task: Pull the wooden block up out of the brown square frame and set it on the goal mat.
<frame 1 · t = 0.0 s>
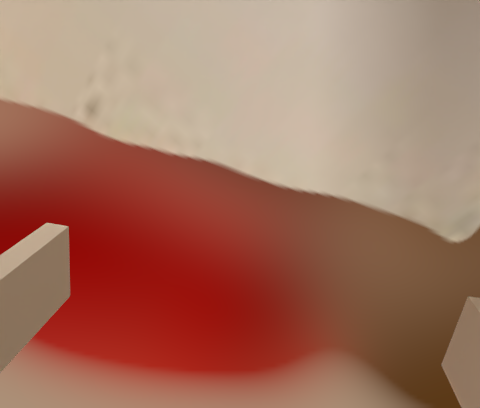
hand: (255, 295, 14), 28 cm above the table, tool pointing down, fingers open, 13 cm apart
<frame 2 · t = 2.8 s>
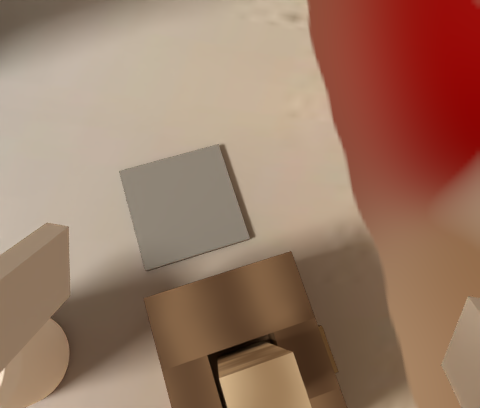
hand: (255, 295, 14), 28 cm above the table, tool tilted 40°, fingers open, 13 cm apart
wooden block: (247, 372, 34), point 6 cm above the table, touching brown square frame
goal mat: (184, 205, 44), on the table
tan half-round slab: (28, 357, 39), on the table
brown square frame: (242, 365, 40), on the table
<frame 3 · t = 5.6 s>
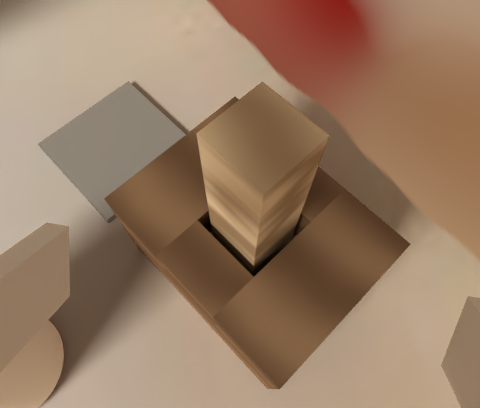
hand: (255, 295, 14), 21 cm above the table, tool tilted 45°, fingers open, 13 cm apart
wooden block: (251, 240, 30), point 6 cm above the table, touching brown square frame
goal mat: (120, 148, 40), on the table
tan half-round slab: (16, 364, 33), on the table
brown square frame: (249, 263, 36), on the table
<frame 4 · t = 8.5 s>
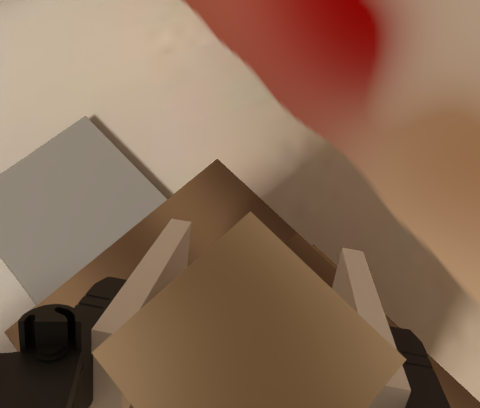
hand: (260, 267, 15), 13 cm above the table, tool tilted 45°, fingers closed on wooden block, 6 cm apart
wooden block: (241, 376, 20), point 6 cm above the table, touching gripper, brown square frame
goal mat: (70, 208, 30), on the table
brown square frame: (240, 379, 26), on the table
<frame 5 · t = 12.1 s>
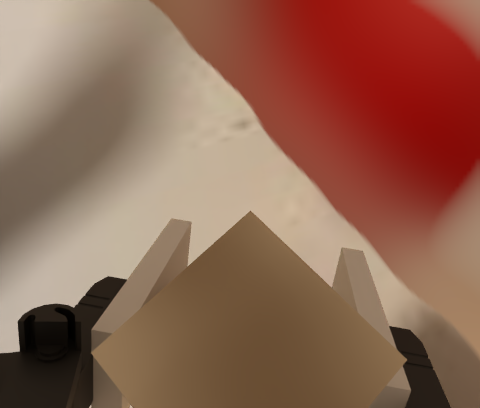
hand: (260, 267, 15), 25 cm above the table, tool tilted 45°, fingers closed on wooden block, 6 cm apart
wooden block: (241, 377, 20), point 19 cm above the table, touching gripper
when the fingers open (8 cm above the table, at t = 16.2 s): wooden block drops 1 cm, resting on goal mat.
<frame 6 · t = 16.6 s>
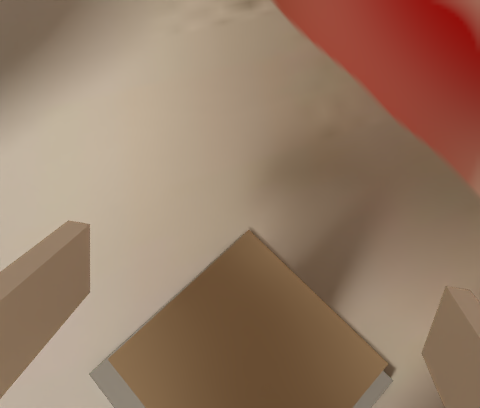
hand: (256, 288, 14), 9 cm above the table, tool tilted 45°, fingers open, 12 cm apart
wooden block: (241, 378, 21), point 1 cm above the table, touching goal mat
goal mat: (240, 377, 22), on the table
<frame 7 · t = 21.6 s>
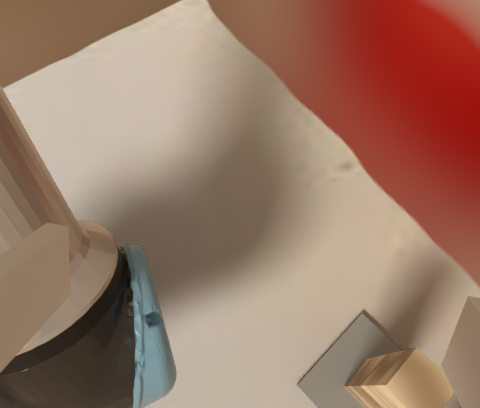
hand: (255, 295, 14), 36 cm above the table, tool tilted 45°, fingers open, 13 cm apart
wooden block: (369, 386, 45), point 1 cm above the table, touching goal mat
goal mat: (367, 386, 45), on the table
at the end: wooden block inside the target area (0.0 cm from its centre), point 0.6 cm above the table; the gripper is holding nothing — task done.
